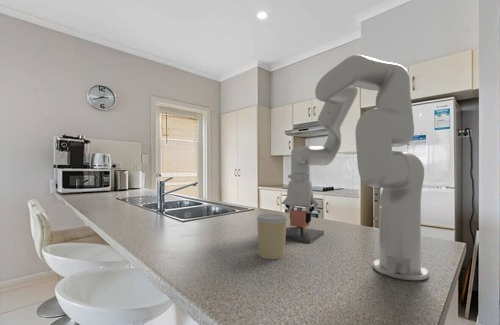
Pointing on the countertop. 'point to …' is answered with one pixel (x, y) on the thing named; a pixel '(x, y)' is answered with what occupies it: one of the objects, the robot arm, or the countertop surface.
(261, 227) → the coffee cup
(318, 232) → the shaft base
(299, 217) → the pink hollow cube
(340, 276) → the countertop surface
